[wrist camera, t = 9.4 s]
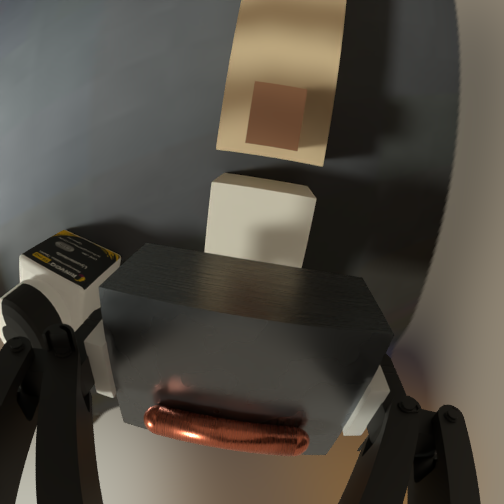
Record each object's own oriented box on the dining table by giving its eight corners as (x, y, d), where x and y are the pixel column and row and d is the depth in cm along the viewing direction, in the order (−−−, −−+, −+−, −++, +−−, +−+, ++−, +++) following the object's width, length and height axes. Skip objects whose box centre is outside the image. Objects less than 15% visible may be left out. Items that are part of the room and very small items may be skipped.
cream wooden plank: (265, -57, 14) (260, -118, 6) (339, -45, 14) (362, -102, 6) (228, 147, 22) (200, 152, 13) (311, 160, 22) (336, 174, 13)
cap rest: (224, 172, 22) (211, 181, 18) (307, 186, 22) (316, 198, 18) (211, 287, 26) (198, 319, 21) (283, 299, 26) (285, 333, 21)
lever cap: (146, 242, 12) (78, 306, 7) (362, 277, 12) (407, 359, 7) (150, 366, 14) (114, 441, 10) (318, 393, 14) (328, 476, 9)
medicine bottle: (123, 254, 26) (45, 327, 14) (113, 313, 28) (53, 392, 17) (64, 227, 25) (-22, 280, 14) (60, 286, 28) (-9, 348, 16)
